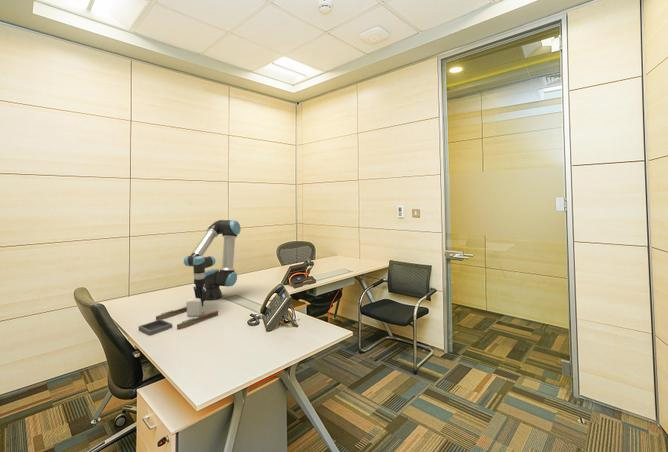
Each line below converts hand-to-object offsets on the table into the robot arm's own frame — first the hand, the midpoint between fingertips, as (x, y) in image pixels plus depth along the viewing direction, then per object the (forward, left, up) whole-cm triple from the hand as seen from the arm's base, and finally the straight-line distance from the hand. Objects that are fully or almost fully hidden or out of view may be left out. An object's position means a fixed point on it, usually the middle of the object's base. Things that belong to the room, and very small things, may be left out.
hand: (201, 310), depth 232 cm
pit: (0, -32, -2) cm, 32 cm away
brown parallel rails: (0, -10, -2) cm, 10 cm away
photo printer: (0, -5, -2) cm, 5 cm away
